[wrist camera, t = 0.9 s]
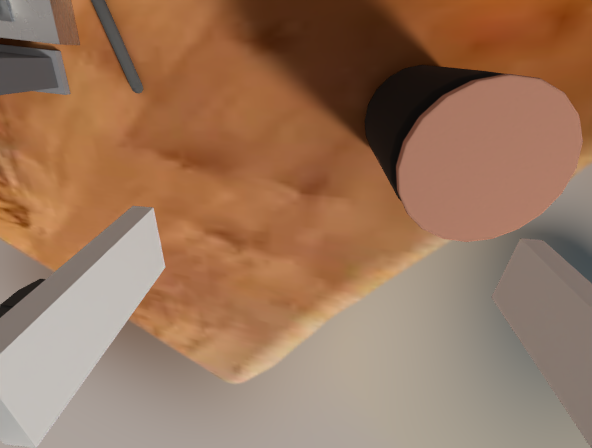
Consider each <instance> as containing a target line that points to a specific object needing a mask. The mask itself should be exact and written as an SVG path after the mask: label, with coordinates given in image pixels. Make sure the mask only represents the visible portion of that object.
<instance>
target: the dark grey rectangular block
mask: <svg viewBox="0 0 592 448" xmlns="http://www.w3.org/2000/svg"><path fill="white" fill-rule="evenodd" d="M27 91H37V92H46V93H55V94H63V95H67V94H70V90H69V86H68V81H67V77H66V73H65V69H64V64H63V60H62V56H61V52H60V51H55V50H47V49H38V48H29V47H21V46H12V45H3V44H0V95H4V94H11V93H19V92H27Z"/></svg>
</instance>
